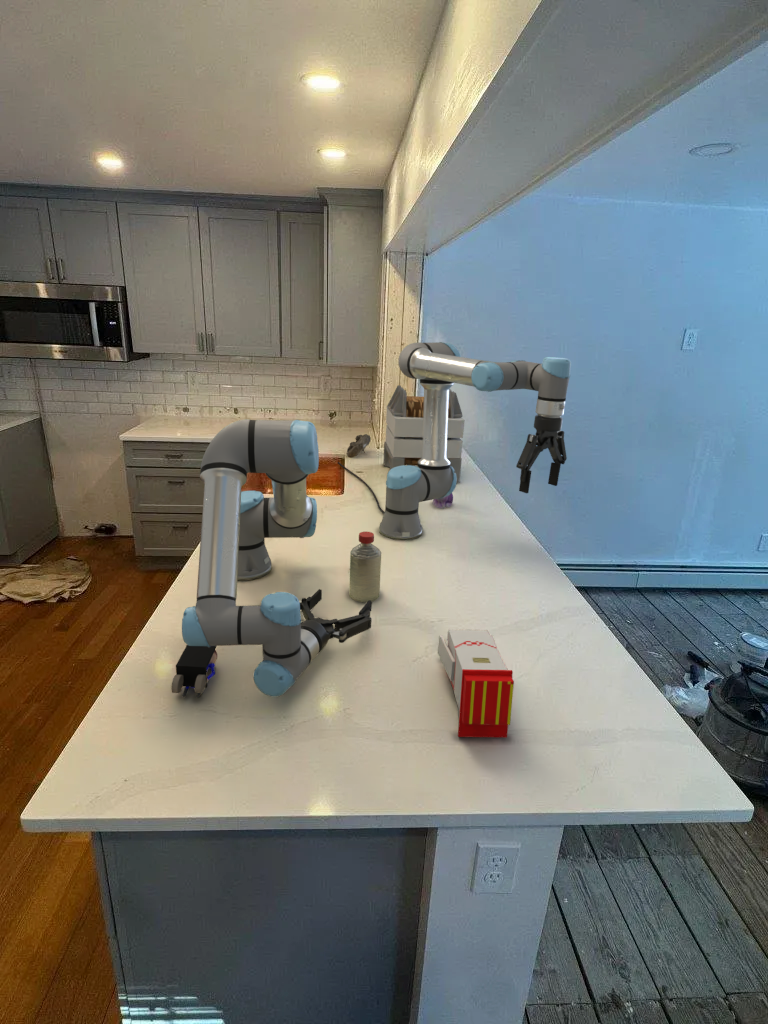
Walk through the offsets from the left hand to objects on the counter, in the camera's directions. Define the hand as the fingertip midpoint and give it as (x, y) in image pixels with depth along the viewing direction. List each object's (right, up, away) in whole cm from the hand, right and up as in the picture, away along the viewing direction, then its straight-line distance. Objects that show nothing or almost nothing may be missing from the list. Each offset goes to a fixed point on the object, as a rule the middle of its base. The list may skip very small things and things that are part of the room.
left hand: (345, 599), depth 142 cm
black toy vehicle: (-29, -13, -24) cm, 40 cm away
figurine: (+34, +25, +89) cm, 98 cm away
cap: (+5, +16, +9) cm, 19 cm away
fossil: (-4, +53, +165) cm, 173 cm away
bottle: (+4, -1, +15) cm, 15 cm away
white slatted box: (+27, +41, +133) cm, 142 cm away
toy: (+28, -16, -23) cm, 39 cm away
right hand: (+55, +29, +23) cm, 66 cm away
